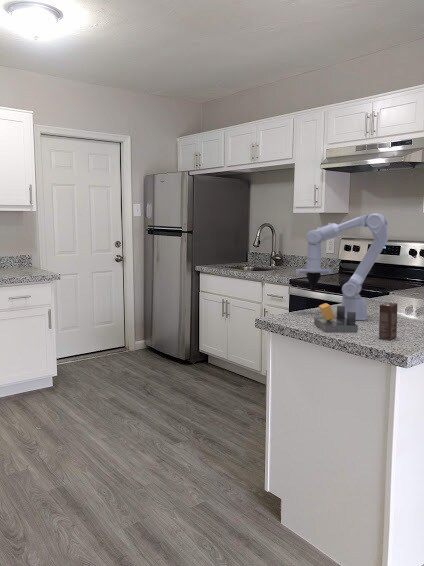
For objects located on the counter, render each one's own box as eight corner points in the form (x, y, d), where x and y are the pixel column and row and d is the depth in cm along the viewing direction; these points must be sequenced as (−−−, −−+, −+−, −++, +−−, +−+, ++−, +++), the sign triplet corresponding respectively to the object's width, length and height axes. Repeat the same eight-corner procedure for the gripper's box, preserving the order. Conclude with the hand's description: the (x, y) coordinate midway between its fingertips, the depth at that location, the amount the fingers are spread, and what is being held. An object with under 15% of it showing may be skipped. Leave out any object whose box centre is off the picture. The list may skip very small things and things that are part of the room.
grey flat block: (344, 323, 192) (344, 316, 192) (357, 332, 177) (357, 325, 177) (314, 323, 191) (314, 316, 191) (325, 332, 176) (325, 325, 176)
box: (384, 335, 173) (385, 302, 171) (396, 337, 170) (398, 303, 168) (377, 338, 168) (379, 304, 167) (390, 340, 165) (392, 305, 164)
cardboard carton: (331, 317, 186) (325, 302, 185) (336, 320, 181) (330, 305, 180) (324, 320, 186) (318, 305, 185) (328, 323, 181) (322, 308, 180)
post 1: (343, 316, 192) (343, 305, 191) (345, 318, 189) (346, 307, 188) (335, 316, 191) (336, 305, 191) (338, 318, 188) (338, 307, 188)
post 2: (353, 323, 180) (354, 311, 179) (356, 325, 177) (357, 313, 176) (345, 323, 179) (346, 311, 179) (348, 325, 177) (348, 313, 176)
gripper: (328, 257, 209) (326, 289, 211) (294, 257, 208) (293, 289, 210) (333, 259, 202) (331, 291, 204) (298, 259, 201) (297, 291, 203)
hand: (312, 290), depth 206 cm, fingers closed
